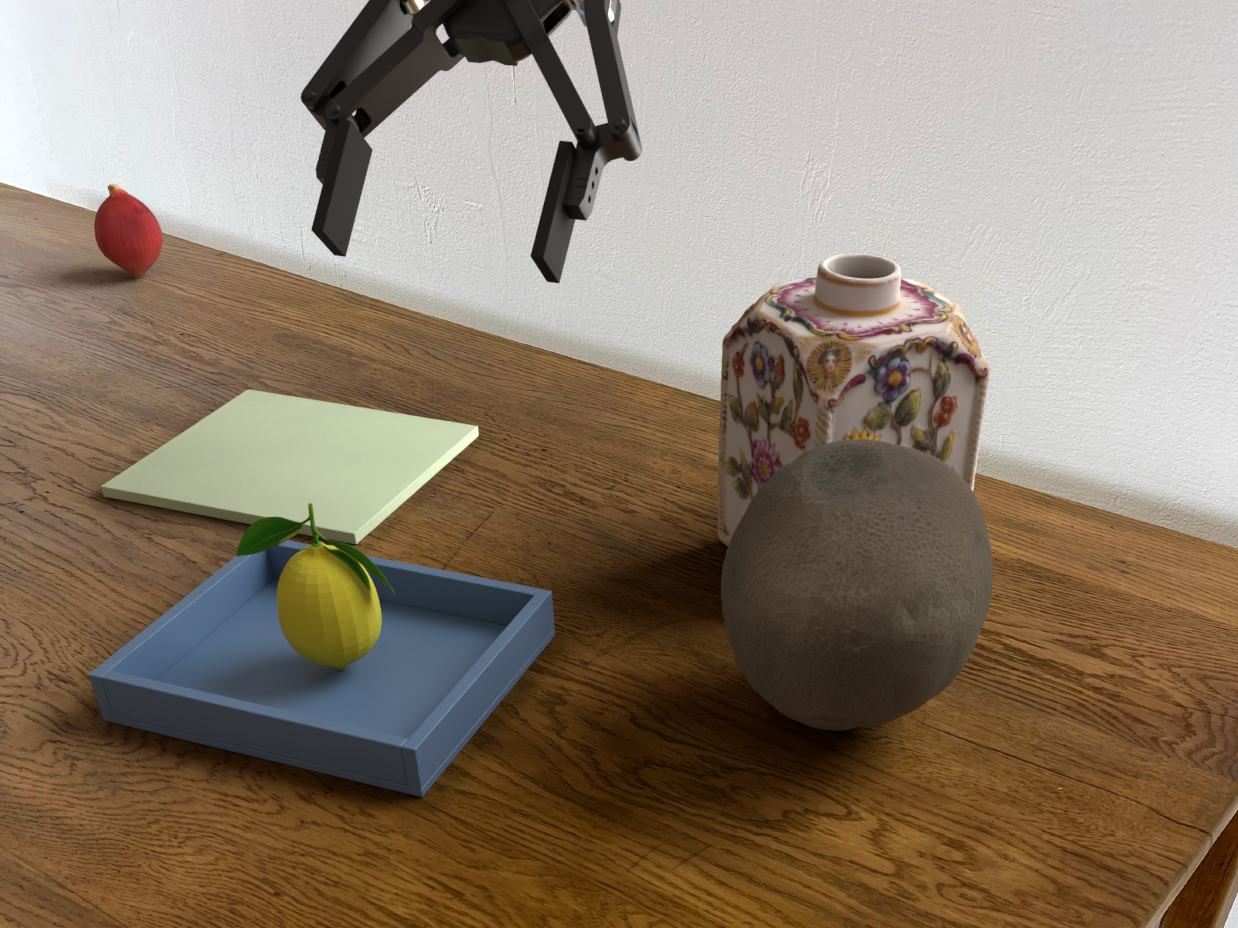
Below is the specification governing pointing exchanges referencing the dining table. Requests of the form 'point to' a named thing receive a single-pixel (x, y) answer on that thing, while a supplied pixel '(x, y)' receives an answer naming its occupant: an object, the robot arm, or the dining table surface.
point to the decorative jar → (845, 375)
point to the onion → (127, 232)
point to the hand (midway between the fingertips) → (434, 257)
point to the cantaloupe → (857, 583)
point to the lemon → (321, 593)
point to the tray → (330, 672)
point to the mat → (295, 464)
